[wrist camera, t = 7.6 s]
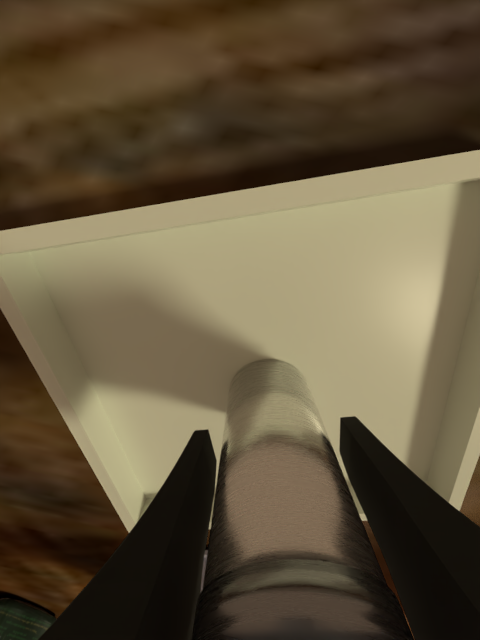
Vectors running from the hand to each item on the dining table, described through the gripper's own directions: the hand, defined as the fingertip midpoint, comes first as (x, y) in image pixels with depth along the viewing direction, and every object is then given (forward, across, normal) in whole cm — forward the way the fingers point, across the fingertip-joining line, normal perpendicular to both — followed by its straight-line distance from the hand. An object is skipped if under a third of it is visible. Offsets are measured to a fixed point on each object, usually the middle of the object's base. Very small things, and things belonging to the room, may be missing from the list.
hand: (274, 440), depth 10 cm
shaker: (+3, 0, 0) cm, 3 cm away
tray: (+4, 0, 0) cm, 4 cm away
